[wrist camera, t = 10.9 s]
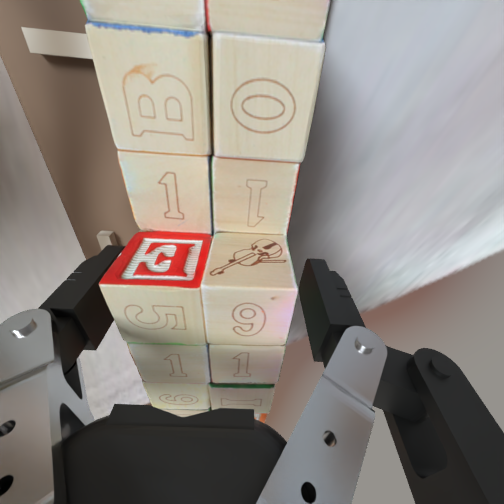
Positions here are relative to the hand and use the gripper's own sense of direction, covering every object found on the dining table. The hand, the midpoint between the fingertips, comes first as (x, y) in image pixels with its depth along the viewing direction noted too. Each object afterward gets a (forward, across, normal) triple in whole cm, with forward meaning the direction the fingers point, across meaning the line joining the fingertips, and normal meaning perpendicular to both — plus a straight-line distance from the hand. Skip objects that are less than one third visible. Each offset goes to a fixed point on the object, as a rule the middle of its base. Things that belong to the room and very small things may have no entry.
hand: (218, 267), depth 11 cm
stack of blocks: (+9, 0, 0) cm, 9 cm away
